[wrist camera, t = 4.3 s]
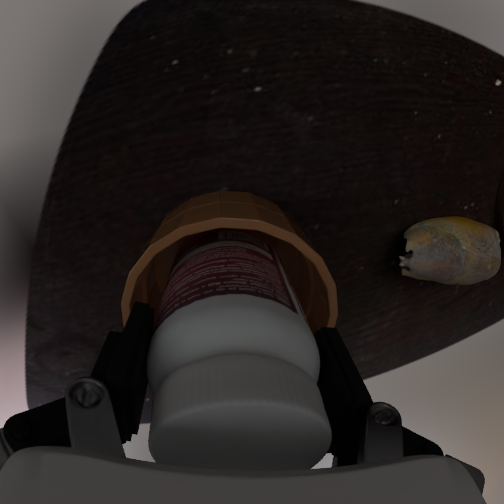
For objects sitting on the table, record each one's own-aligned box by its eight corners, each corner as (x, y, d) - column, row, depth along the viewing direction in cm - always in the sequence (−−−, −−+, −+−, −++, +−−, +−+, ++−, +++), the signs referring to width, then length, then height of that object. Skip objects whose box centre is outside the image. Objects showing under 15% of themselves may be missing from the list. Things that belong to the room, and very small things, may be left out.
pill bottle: (151, 263, 17) (83, 434, 6) (241, 198, 16) (277, 341, 6) (217, 335, 19) (221, 506, 9) (302, 284, 18) (376, 449, 8)
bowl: (118, 277, 18) (87, 332, 13) (218, 152, 16) (215, 165, 10) (236, 356, 21) (241, 418, 16) (338, 260, 19) (376, 308, 14)
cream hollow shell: (387, 291, 20) (402, 301, 16) (381, 225, 20) (394, 219, 16) (484, 276, 18) (515, 282, 14) (478, 215, 18) (508, 207, 14)
